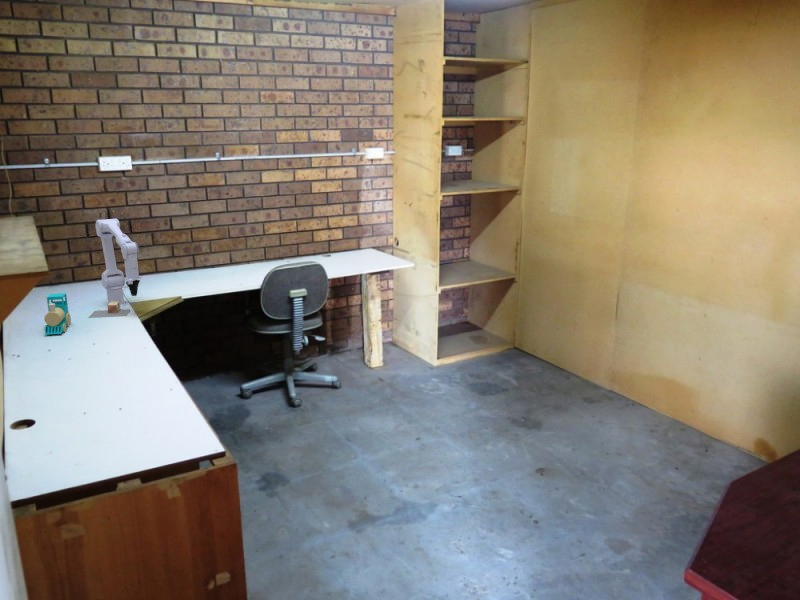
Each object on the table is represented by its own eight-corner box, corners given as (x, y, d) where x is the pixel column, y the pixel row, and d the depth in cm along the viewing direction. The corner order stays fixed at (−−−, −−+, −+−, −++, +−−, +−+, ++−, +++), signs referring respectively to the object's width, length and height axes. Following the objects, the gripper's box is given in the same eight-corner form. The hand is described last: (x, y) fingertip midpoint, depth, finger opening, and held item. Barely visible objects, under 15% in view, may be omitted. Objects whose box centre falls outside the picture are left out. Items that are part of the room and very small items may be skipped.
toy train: (42, 336, 265) (38, 303, 262) (52, 325, 281) (48, 293, 277) (63, 335, 268) (59, 302, 264) (71, 324, 283) (68, 293, 279)
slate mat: (94, 311, 304) (94, 310, 304) (131, 310, 308) (131, 309, 308) (88, 318, 292) (88, 317, 292) (126, 317, 296) (126, 316, 296)
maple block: (108, 313, 300) (111, 309, 307) (117, 313, 301) (120, 309, 308) (107, 305, 299) (110, 301, 306) (116, 305, 300) (119, 301, 307)
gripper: (137, 270, 289) (140, 298, 292) (143, 264, 303) (145, 291, 306) (121, 271, 287) (124, 299, 291) (127, 265, 301) (130, 292, 305)
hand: (134, 295), depth 298 cm, fingers closed
